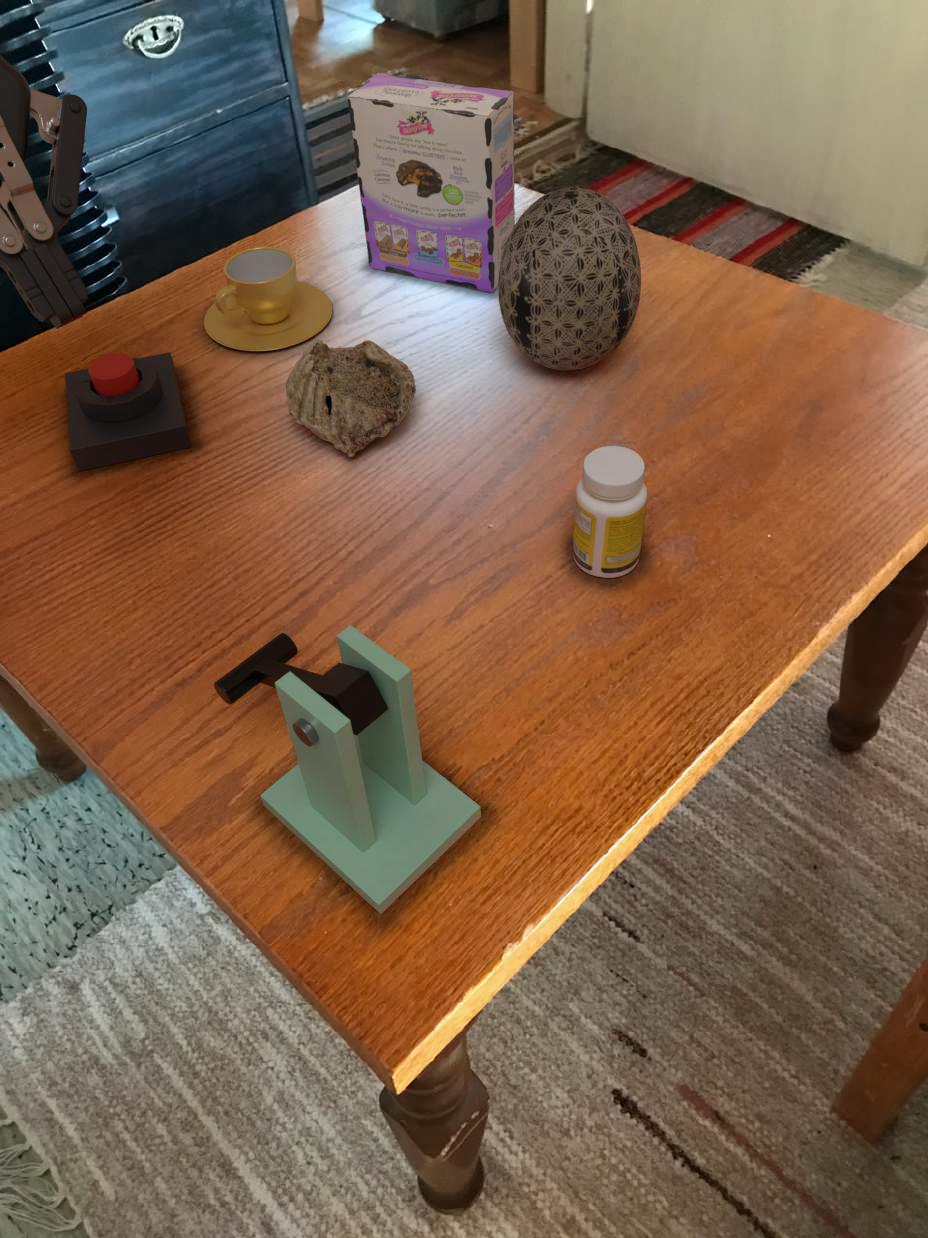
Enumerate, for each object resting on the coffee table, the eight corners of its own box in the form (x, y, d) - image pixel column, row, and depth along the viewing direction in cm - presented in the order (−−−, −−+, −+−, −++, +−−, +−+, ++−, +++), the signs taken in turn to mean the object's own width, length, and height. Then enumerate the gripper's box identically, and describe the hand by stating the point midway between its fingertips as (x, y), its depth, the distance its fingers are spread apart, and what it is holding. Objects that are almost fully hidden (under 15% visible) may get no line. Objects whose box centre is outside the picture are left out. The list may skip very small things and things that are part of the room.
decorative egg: (660, 356, 86) (683, 187, 75) (572, 418, 81) (581, 245, 69) (560, 308, 92) (566, 143, 80) (471, 362, 86) (465, 194, 75)
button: (141, 391, 79) (135, 373, 78) (96, 401, 79) (89, 382, 77) (137, 367, 81) (131, 349, 80) (93, 376, 81) (86, 358, 80)
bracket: (263, 806, 58) (213, 670, 48) (363, 722, 61) (335, 581, 52) (380, 915, 53) (351, 789, 43) (481, 817, 57) (475, 681, 47)
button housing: (191, 447, 80) (179, 407, 77) (78, 471, 78) (61, 431, 75) (176, 372, 87) (164, 333, 84) (73, 394, 85) (56, 354, 82)
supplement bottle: (647, 543, 71) (661, 451, 64) (627, 587, 68) (639, 496, 62) (584, 526, 72) (591, 434, 66) (562, 569, 69) (567, 477, 63)
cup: (280, 271, 98) (270, 218, 94) (359, 315, 92) (352, 261, 88) (179, 321, 93) (164, 267, 88) (257, 371, 87) (244, 316, 83)
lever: (226, 708, 57) (205, 675, 56) (292, 657, 59) (274, 625, 58) (335, 754, 47) (312, 715, 46) (409, 691, 49) (389, 653, 48)
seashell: (334, 495, 80) (441, 436, 78) (285, 444, 74) (399, 379, 72) (311, 404, 86) (409, 347, 84) (265, 351, 81) (369, 289, 78)
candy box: (517, 266, 97) (517, 88, 84) (492, 295, 93) (489, 115, 81) (393, 240, 101) (377, 68, 89) (366, 268, 98) (344, 92, 85)
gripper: (-304, -23, 40) (-43, 368, 46) (-3, -111, 45) (197, 253, 51) (-277, 51, 46) (-51, 386, 52) (-17, -33, 51) (163, 282, 57)
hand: (71, 320), depth 52 cm, fingers closed
